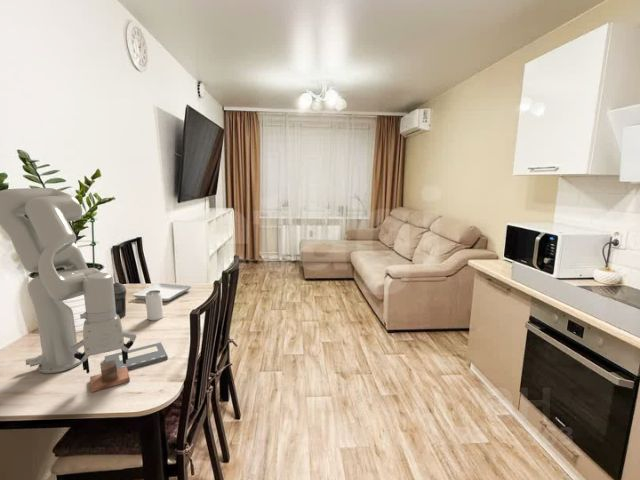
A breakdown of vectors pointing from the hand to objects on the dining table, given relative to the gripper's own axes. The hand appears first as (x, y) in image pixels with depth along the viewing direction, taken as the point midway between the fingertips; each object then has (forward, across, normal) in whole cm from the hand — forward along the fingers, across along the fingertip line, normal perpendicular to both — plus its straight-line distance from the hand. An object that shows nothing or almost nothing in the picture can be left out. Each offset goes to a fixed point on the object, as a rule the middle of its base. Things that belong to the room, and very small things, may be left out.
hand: (106, 366), depth 106 cm
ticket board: (+5, +9, +9) cm, 14 cm away
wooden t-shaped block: (+5, +1, -1) cm, 5 cm away
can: (+6, +21, +44) cm, 49 cm away
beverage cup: (+6, +8, +55) cm, 56 cm away
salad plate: (+7, +30, +74) cm, 80 cm away
